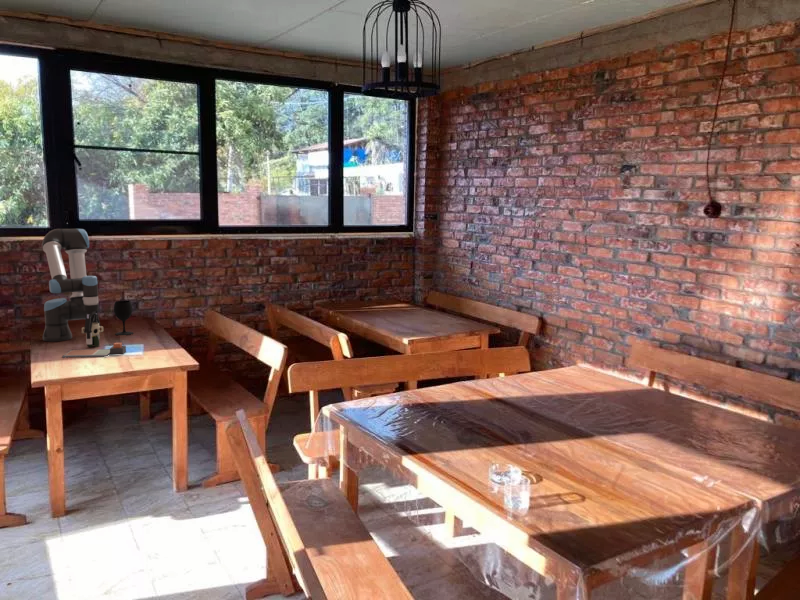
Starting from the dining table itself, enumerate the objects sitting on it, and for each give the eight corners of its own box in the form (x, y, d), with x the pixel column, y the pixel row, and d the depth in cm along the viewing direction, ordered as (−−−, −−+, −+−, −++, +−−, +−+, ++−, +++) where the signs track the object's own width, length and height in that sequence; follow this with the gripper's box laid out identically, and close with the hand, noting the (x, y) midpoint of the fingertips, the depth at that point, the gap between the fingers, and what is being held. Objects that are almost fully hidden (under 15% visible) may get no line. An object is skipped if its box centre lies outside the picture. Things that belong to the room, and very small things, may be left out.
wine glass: (124, 336, 384) (123, 303, 381) (111, 334, 388) (109, 302, 385) (137, 333, 394) (135, 301, 391) (124, 331, 397) (122, 299, 394)
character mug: (82, 348, 351) (81, 325, 349) (82, 346, 357) (81, 323, 355) (104, 347, 356) (103, 324, 354) (104, 344, 362) (102, 321, 360)
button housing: (113, 352, 344) (113, 345, 344) (126, 351, 345) (125, 345, 345) (110, 354, 338) (109, 348, 337) (122, 354, 339) (122, 348, 338)
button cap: (115, 348, 343) (115, 342, 342) (122, 348, 343) (121, 342, 343) (113, 349, 339) (113, 344, 339) (120, 349, 340) (120, 344, 339)
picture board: (71, 351, 345) (71, 349, 345) (114, 350, 348) (114, 348, 348) (61, 357, 330) (61, 356, 330) (107, 356, 334) (107, 355, 334)
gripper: (90, 300, 364) (92, 337, 367) (76, 307, 340) (78, 346, 343) (104, 300, 365) (106, 336, 369) (91, 307, 341) (93, 346, 344)
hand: (93, 341), depth 356 cm, fingers open, 13 cm apart
